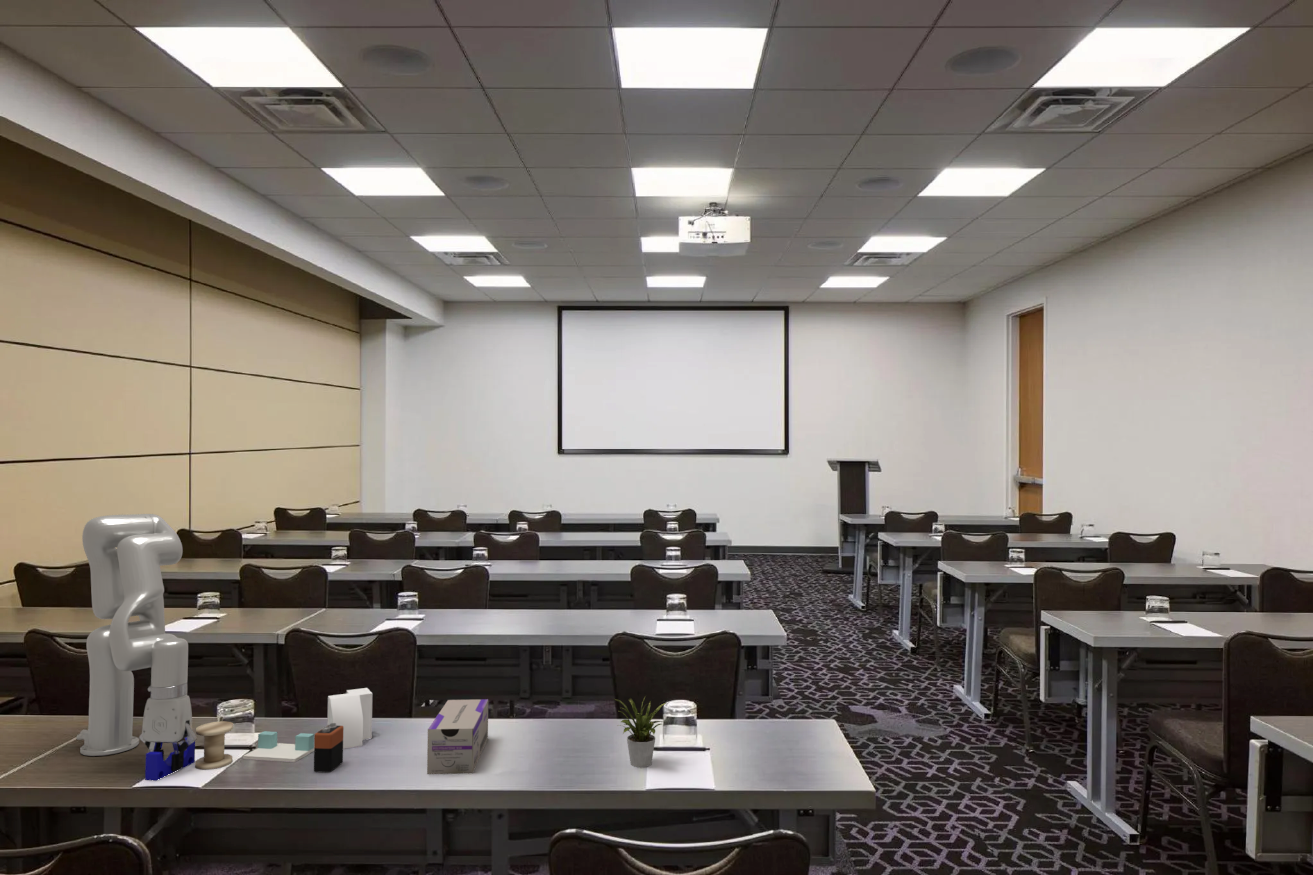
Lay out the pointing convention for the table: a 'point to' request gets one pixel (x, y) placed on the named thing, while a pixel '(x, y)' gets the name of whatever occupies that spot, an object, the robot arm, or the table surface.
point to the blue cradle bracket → (165, 763)
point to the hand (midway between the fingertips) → (167, 768)
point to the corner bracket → (352, 715)
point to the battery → (328, 748)
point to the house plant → (640, 735)
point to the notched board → (281, 748)
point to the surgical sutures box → (457, 737)
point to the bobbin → (214, 745)
